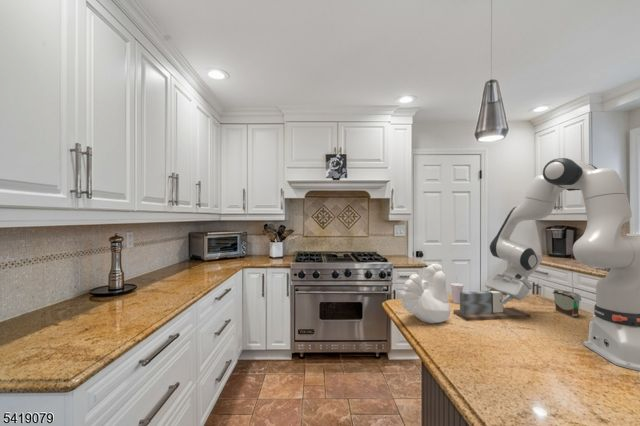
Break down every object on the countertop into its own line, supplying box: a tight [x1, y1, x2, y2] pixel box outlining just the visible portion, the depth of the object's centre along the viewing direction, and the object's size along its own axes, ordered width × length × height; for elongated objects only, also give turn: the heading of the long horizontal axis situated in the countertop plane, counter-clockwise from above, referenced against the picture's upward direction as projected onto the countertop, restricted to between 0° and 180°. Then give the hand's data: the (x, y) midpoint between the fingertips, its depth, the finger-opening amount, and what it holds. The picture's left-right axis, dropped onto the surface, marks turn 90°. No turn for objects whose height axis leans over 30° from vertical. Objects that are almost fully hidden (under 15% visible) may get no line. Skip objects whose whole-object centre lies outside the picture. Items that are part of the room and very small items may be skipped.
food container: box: [552, 289, 582, 319], centre depth 131 cm, size 12×6×10 cm, turn 179°
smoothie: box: [450, 275, 464, 305], centre depth 149 cm, size 6×6×14 cm
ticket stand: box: [453, 290, 532, 322], centre depth 130 cm, size 31×10×11 cm, turn 97°
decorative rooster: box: [400, 263, 451, 324], centre depth 124 cm, size 25×16×25 cm, turn 105°
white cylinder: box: [489, 291, 504, 313], centre depth 130 cm, size 5×3×9 cm, turn 97°
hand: (494, 299), depth 130 cm, fingers open, 8 cm apart
